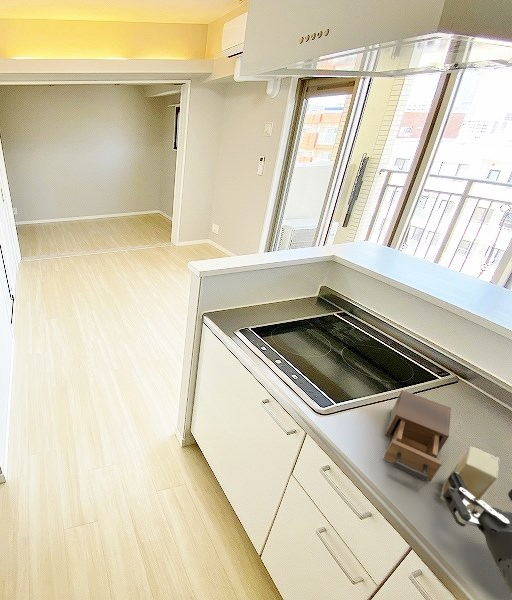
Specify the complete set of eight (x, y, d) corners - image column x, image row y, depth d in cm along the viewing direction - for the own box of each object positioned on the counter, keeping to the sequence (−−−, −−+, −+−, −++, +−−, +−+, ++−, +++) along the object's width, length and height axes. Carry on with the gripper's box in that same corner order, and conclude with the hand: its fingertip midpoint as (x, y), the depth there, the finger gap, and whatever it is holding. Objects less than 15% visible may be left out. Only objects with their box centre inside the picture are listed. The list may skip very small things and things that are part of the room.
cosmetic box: (444, 480, 73) (470, 443, 67) (471, 494, 70) (500, 457, 64) (438, 500, 69) (465, 462, 64) (467, 515, 67) (498, 478, 61)
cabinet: (435, 458, 78) (449, 436, 74) (385, 435, 84) (395, 414, 80) (438, 428, 85) (451, 407, 82) (391, 410, 91) (402, 389, 88)
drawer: (428, 495, 70) (440, 478, 67) (379, 470, 75) (389, 453, 72) (433, 450, 79) (444, 434, 76) (390, 431, 84) (398, 415, 81)
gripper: (621, 587, 46) (545, 484, 59) (485, 543, 51) (443, 457, 64) (586, 610, 50) (522, 508, 63) (463, 567, 55) (427, 481, 68)
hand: (482, 482), depth 63 cm, fingers open, 8 cm apart
